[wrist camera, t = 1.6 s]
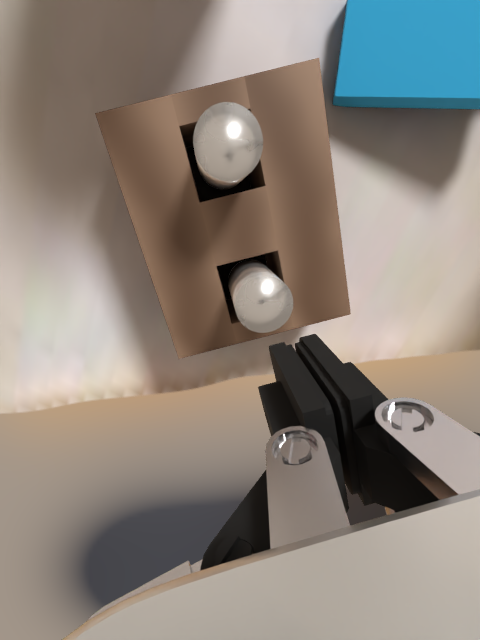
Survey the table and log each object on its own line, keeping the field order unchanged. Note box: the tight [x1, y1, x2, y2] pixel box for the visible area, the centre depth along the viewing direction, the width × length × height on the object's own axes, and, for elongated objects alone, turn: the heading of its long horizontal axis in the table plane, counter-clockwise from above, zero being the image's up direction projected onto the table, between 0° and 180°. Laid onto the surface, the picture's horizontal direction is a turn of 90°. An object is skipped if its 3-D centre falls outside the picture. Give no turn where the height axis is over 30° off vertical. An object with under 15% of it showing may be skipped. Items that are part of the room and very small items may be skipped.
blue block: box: [333, 0, 480, 109], centre depth 25 cm, size 7×7×18 cm
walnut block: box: [95, 58, 351, 359], centre depth 25 cm, size 14×17×7 cm
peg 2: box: [228, 259, 293, 333], centre depth 23 cm, size 4×4×7 cm
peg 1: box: [193, 102, 263, 190], centre depth 19 cm, size 4×4×7 cm
